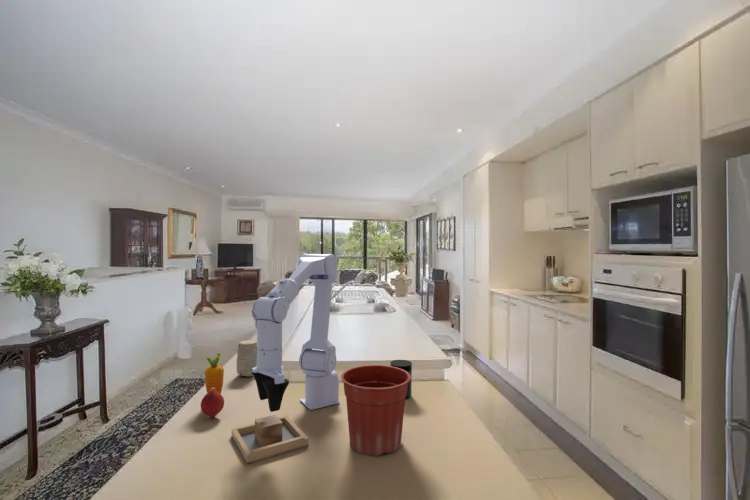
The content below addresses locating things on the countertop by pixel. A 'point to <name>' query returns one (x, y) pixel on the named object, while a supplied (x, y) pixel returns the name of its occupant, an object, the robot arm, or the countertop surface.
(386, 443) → the flower pot
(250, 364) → the carving
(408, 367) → the supplement container
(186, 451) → the countertop surface
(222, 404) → the onion
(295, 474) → the countertop surface
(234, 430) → the slate tray
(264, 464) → the countertop surface
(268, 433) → the walnut block
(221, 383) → the carrot
